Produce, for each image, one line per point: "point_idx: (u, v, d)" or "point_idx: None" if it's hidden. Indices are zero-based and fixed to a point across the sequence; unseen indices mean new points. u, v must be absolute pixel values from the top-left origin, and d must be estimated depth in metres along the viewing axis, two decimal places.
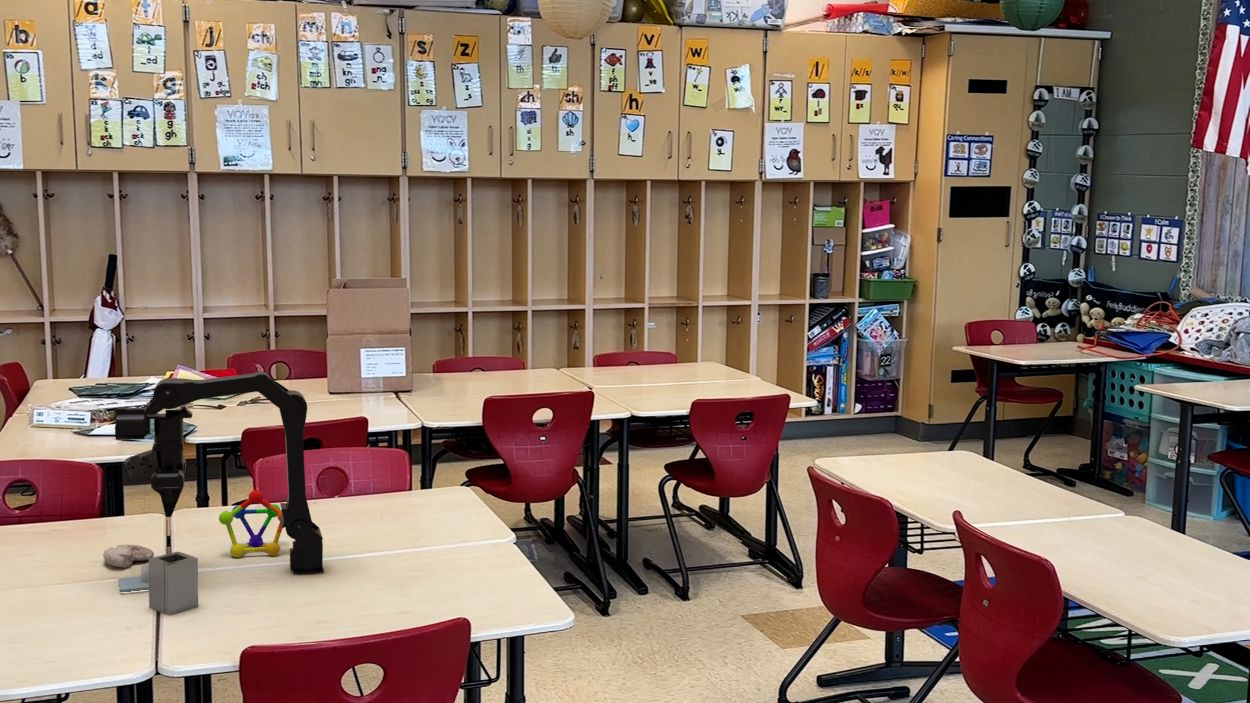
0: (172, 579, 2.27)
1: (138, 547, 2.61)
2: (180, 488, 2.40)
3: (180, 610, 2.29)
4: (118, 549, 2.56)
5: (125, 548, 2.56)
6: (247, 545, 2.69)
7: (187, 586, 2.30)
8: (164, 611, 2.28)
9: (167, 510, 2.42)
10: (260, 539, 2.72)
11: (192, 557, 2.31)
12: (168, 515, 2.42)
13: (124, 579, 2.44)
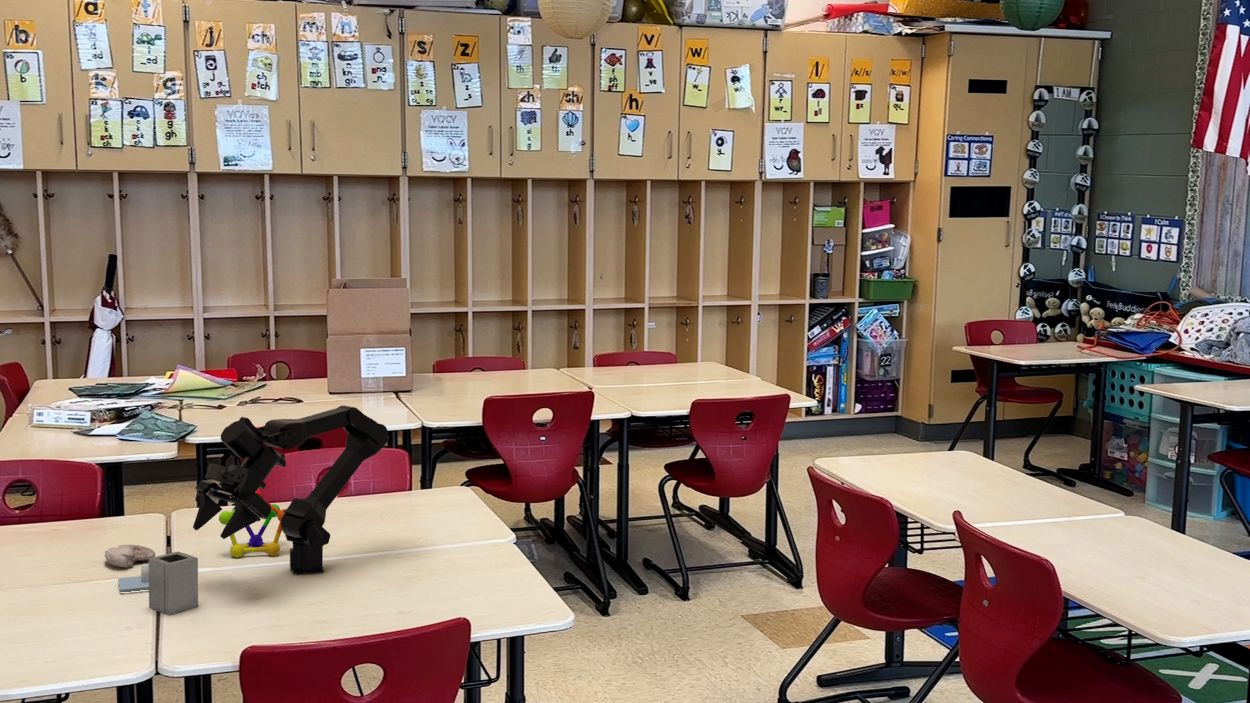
0: (172, 579, 2.27)
1: (139, 547, 2.61)
2: (259, 519, 2.37)
3: (180, 610, 2.29)
4: (120, 549, 2.56)
5: (127, 548, 2.56)
6: (247, 545, 2.69)
7: (187, 586, 2.30)
8: (164, 611, 2.28)
9: (227, 531, 2.34)
10: (260, 539, 2.72)
11: (192, 557, 2.31)
12: (224, 536, 2.34)
13: (124, 579, 2.44)
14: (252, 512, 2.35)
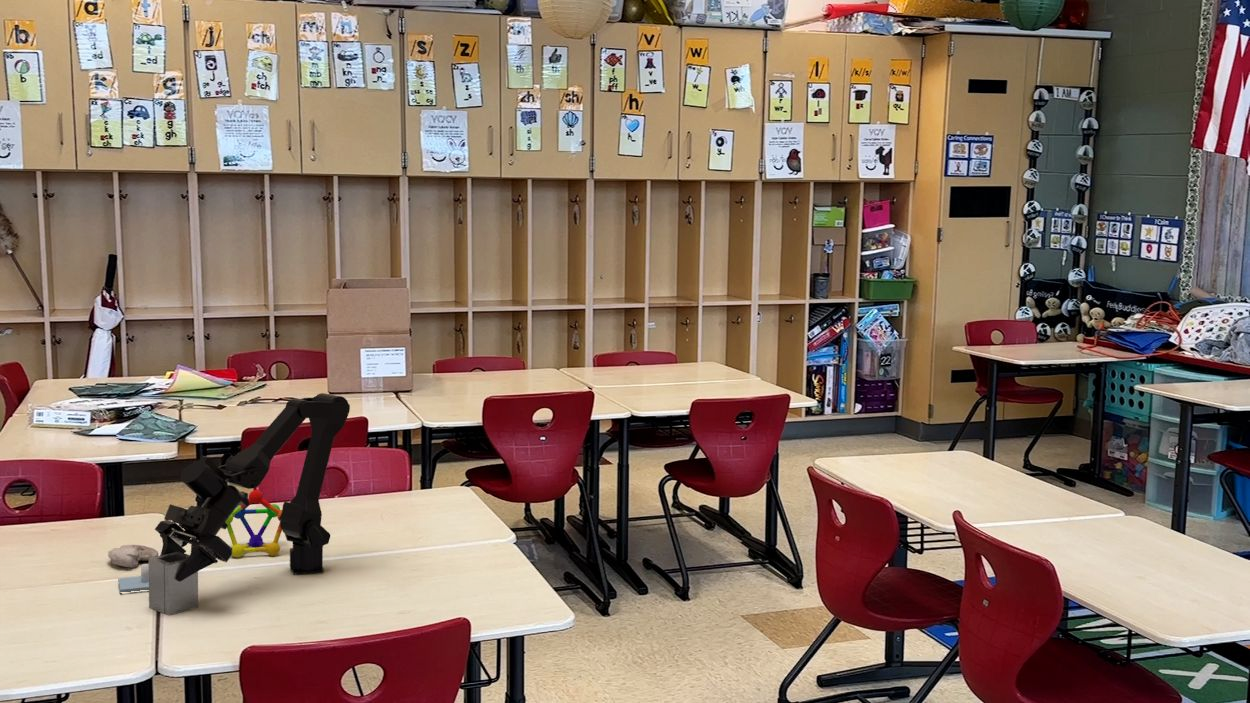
0: (172, 579, 2.27)
1: (142, 547, 2.61)
2: (216, 561, 2.30)
3: (180, 610, 2.29)
4: (124, 549, 2.56)
5: (131, 548, 2.56)
6: (247, 545, 2.69)
7: (187, 586, 2.30)
8: (164, 611, 2.28)
9: (183, 574, 2.28)
10: (260, 539, 2.72)
11: None
12: (179, 579, 2.27)
13: (124, 579, 2.44)
14: (209, 554, 2.29)
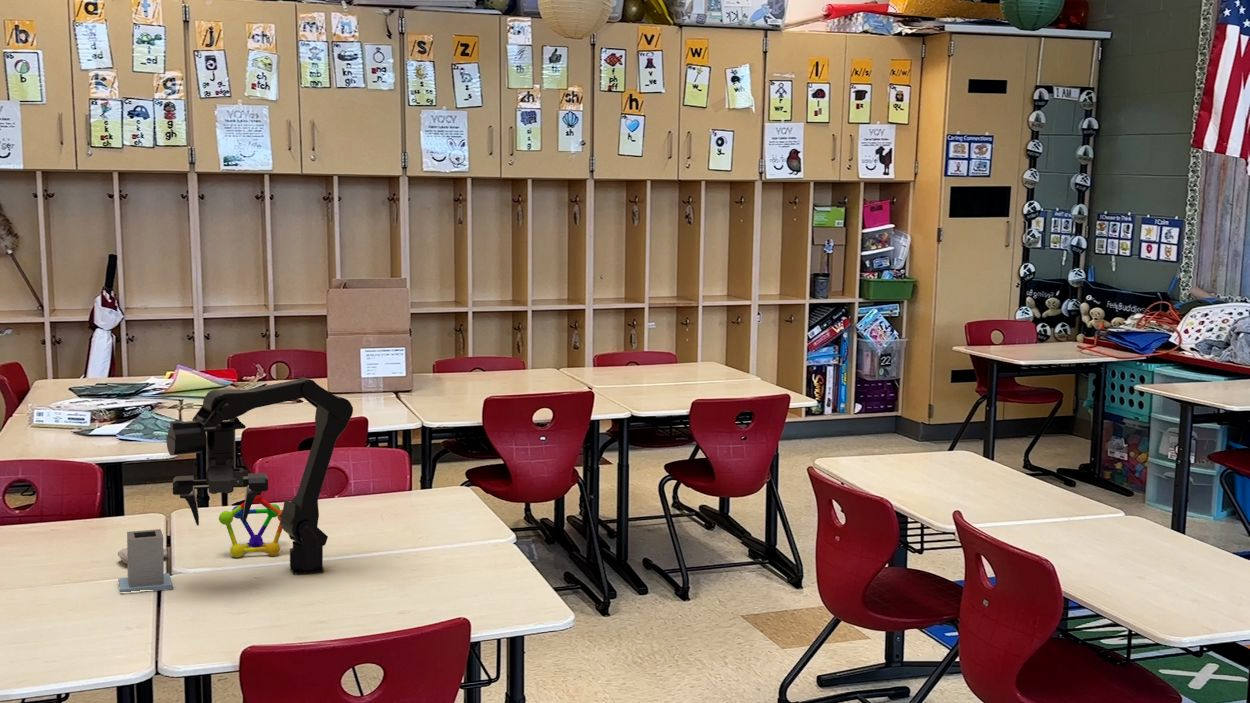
0: (133, 554, 2.39)
1: None
2: None
3: (143, 585, 2.40)
4: None
5: None
6: (247, 545, 2.69)
7: (151, 563, 2.40)
8: (129, 583, 2.40)
9: None
10: (260, 539, 2.72)
11: (160, 536, 2.42)
12: (245, 520, 2.47)
13: (124, 579, 2.44)
14: None
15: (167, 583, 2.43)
